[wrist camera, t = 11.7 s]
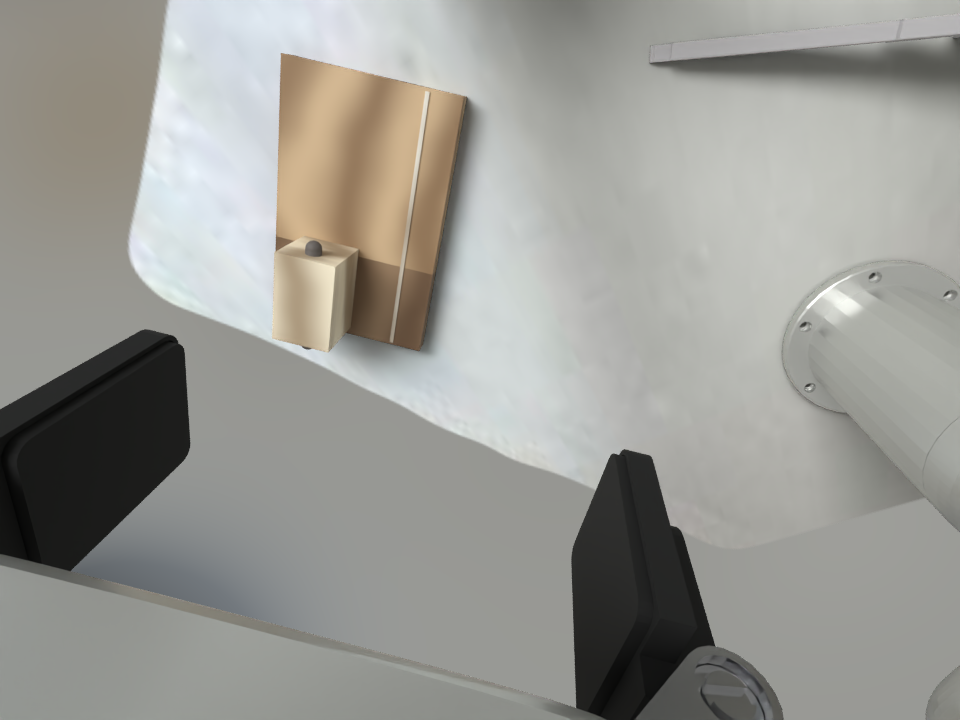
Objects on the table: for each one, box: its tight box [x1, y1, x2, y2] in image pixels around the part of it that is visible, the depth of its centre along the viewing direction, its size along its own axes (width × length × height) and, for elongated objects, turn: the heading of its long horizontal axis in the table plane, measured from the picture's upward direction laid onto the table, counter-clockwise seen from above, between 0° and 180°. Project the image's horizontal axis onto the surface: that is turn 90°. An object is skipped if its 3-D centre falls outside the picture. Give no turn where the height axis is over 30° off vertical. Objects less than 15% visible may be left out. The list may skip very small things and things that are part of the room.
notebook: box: [276, 53, 467, 351], centre depth 41 cm, size 13×20×2 cm, turn 168°
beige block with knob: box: [272, 236, 359, 352], centre depth 41 cm, size 4×9×5 cm, turn 168°
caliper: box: [649, 14, 960, 63], centre depth 31 cm, size 20×1×6 cm, turn 94°
